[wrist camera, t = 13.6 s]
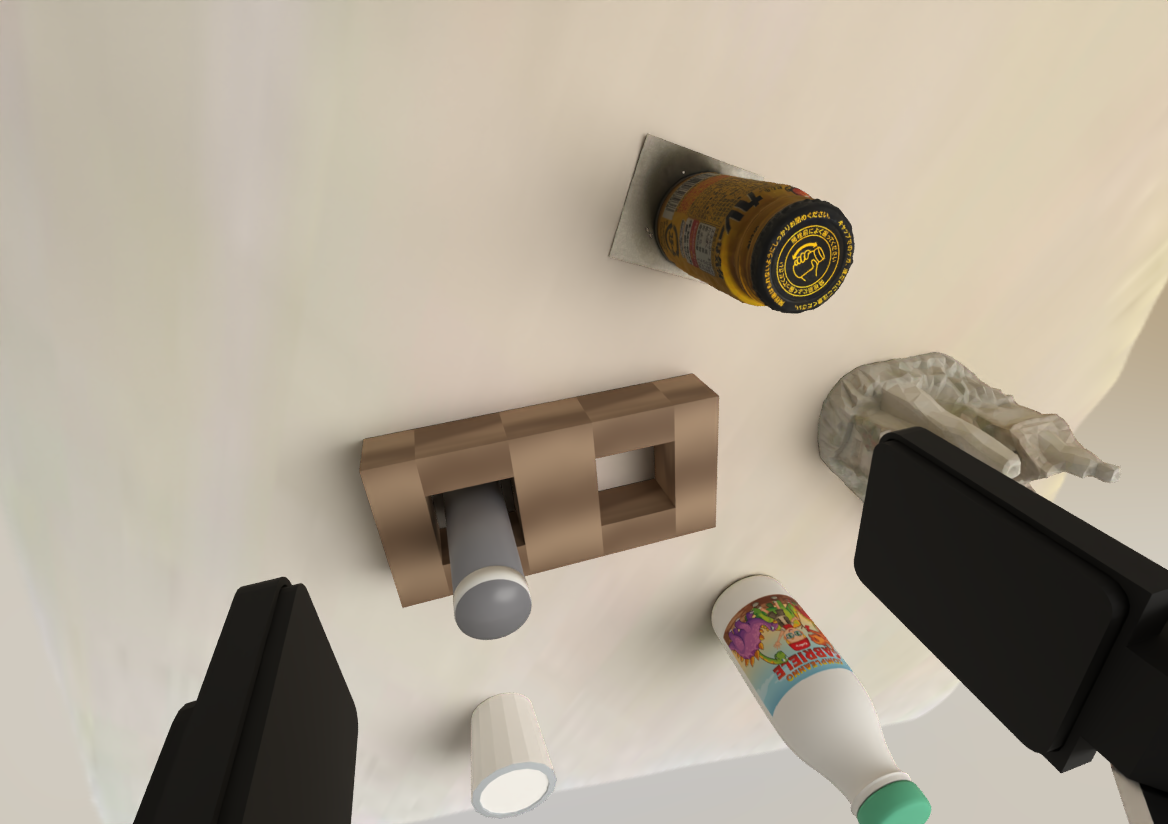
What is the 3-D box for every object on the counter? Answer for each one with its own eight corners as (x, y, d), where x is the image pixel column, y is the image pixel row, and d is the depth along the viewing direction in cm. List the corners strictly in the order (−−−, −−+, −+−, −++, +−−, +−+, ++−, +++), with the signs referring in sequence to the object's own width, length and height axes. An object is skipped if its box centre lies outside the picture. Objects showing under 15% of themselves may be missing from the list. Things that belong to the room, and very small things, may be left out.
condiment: (720, 287, 39) (832, 345, 29) (608, 256, 36) (688, 308, 26) (762, 176, 37) (902, 196, 26) (645, 133, 34) (751, 137, 23)
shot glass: (499, 677, 50) (512, 753, 44) (555, 702, 53) (574, 776, 47) (447, 727, 51) (453, 809, 45) (504, 749, 54) (517, 827, 48)
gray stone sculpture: (838, 353, 44) (1017, 462, 32) (993, 349, 50) (1199, 441, 37) (783, 513, 52) (911, 651, 39) (923, 495, 57) (1075, 612, 45)
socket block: (363, 439, 37) (359, 471, 34) (693, 373, 42) (719, 396, 38) (403, 571, 42) (403, 610, 39) (692, 500, 47) (715, 530, 44)
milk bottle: (788, 612, 57) (955, 825, 39) (718, 647, 56) (857, 879, 39) (775, 559, 53) (954, 770, 36) (699, 596, 52) (845, 829, 35)
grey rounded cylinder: (436, 470, 40) (447, 593, 29) (495, 457, 40) (527, 572, 30) (448, 518, 41) (462, 649, 31) (504, 504, 42) (536, 628, 32)
